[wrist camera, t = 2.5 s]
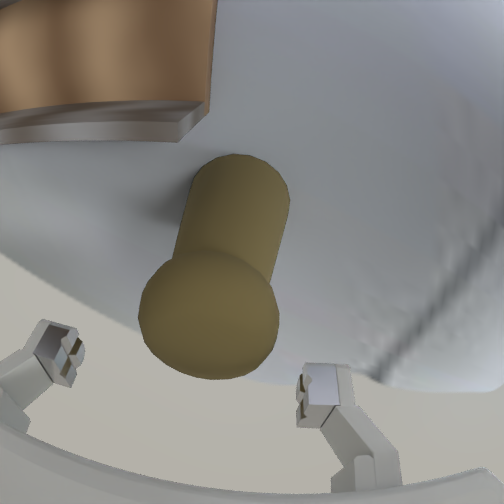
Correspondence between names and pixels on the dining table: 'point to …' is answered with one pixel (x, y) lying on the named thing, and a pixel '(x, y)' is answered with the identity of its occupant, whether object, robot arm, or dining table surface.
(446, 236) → the dining table surface
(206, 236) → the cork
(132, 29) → the slot rack
